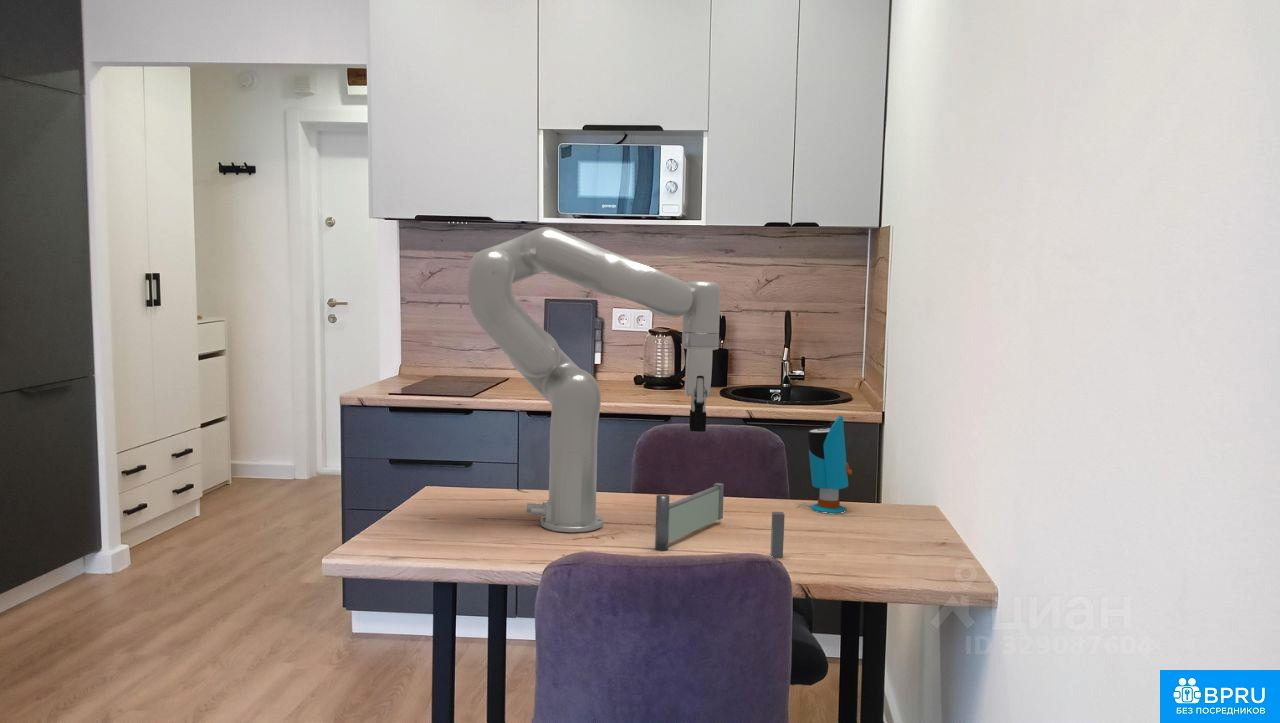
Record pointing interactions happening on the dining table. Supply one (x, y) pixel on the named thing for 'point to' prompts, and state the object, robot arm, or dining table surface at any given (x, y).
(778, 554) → the gate frame
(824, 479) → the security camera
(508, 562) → the dining table surface
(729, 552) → the dining table surface
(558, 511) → the robot arm
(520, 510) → the dining table surface
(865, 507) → the dining table surface
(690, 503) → the gate
